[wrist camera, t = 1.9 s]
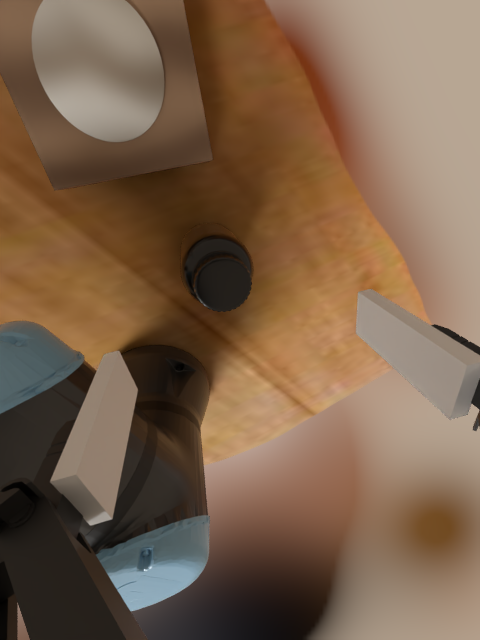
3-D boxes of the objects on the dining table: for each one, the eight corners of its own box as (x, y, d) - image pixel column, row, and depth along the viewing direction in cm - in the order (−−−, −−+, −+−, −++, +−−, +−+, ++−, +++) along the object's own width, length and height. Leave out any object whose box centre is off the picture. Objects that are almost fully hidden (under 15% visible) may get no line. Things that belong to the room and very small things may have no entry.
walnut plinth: (209, 161, 28) (213, 159, 24) (70, 188, 27) (53, 190, 23) (169, -45, 21) (166, -90, 18) (-20, -20, 20) (-66, -65, 16)
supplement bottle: (245, 265, 34) (273, 306, 24) (195, 286, 34) (201, 336, 24) (225, 211, 31) (248, 230, 20) (169, 234, 31) (164, 265, 20)
